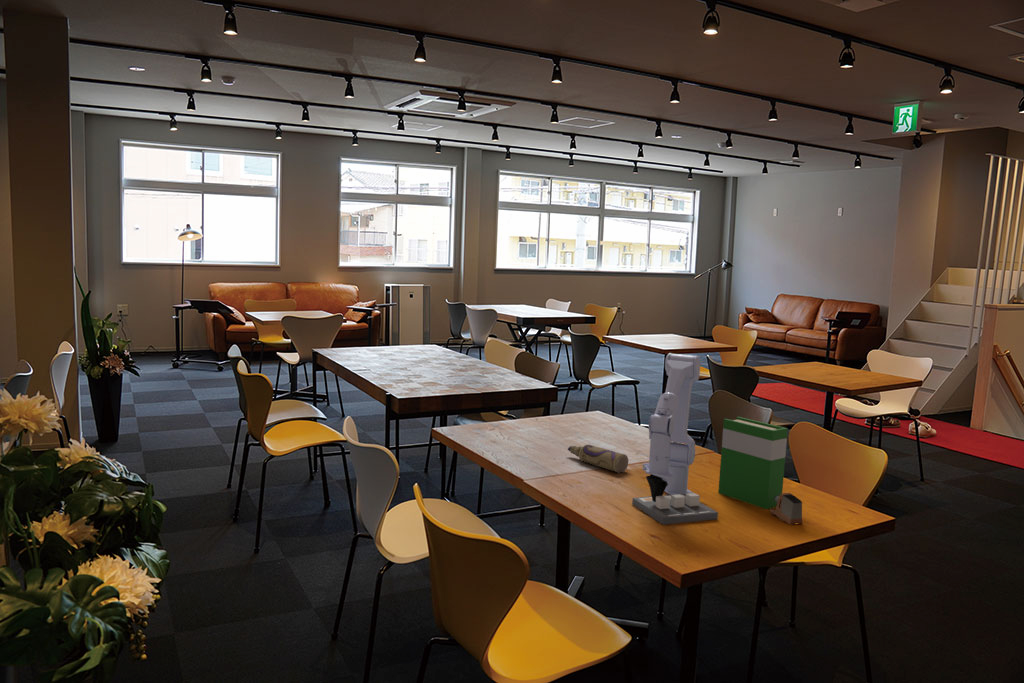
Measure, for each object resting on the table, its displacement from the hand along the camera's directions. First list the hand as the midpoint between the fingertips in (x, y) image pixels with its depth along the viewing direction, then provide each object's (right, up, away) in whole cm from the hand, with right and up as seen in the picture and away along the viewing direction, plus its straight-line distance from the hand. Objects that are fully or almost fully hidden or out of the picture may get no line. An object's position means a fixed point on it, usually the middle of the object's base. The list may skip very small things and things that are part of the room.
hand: (656, 501), depth 211 cm
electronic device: (+37, -5, -1) cm, 37 cm away
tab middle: (+6, -1, -1) cm, 6 cm away
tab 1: (+1, -1, -3) cm, 3 cm away
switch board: (+5, -3, +1) cm, 6 cm away
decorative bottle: (-12, +2, +47) cm, 48 cm away
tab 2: (+10, -1, +1) cm, 11 cm away
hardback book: (+32, -3, +15) cm, 35 cm away
